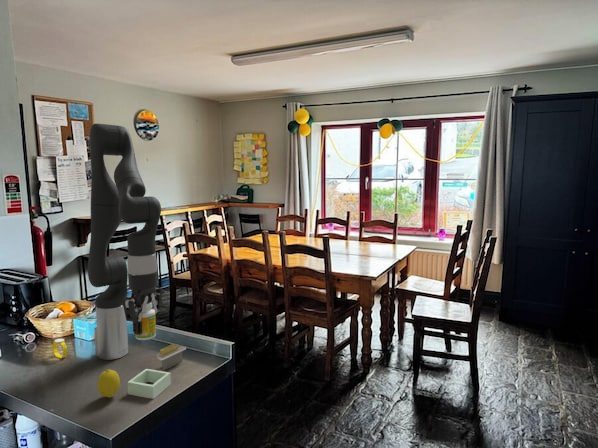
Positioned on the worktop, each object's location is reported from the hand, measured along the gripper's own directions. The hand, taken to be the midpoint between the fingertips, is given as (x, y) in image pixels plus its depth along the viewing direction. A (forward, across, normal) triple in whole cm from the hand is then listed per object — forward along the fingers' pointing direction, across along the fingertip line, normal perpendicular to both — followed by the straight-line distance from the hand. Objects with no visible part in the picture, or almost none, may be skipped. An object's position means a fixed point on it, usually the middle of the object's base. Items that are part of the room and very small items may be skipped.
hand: (145, 329), depth 113 cm
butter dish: (+18, -15, -3) cm, 24 cm away
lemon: (+18, +7, -7) cm, 20 cm away
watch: (+18, -8, -40) cm, 45 cm away
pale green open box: (+18, 0, 0) cm, 18 cm away
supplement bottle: (+2, 0, 0) cm, 2 cm away
